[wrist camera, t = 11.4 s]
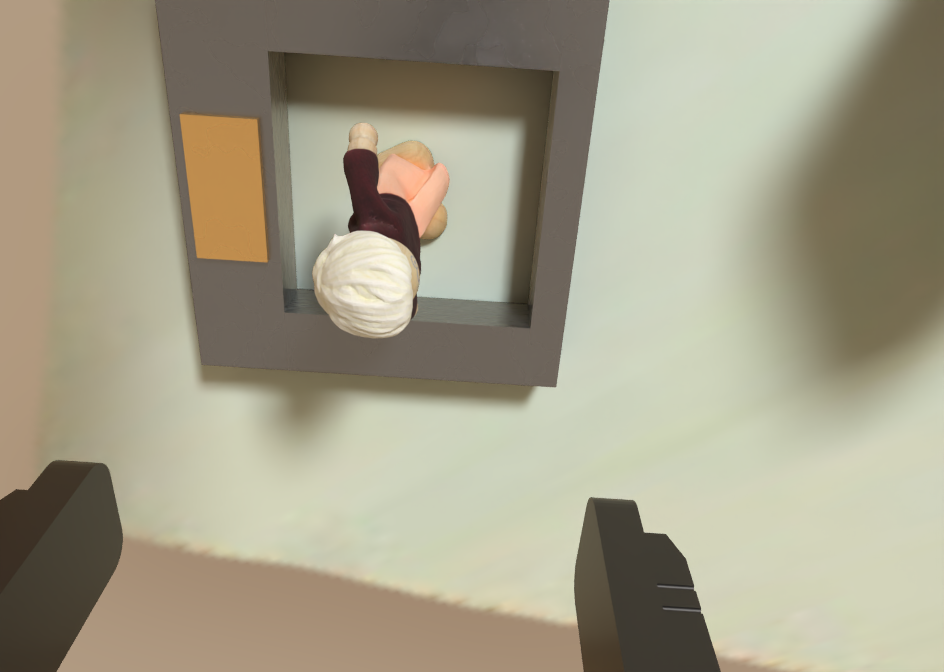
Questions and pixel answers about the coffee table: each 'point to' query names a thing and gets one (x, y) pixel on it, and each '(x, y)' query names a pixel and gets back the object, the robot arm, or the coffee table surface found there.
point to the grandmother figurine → (381, 236)
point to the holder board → (270, 192)
